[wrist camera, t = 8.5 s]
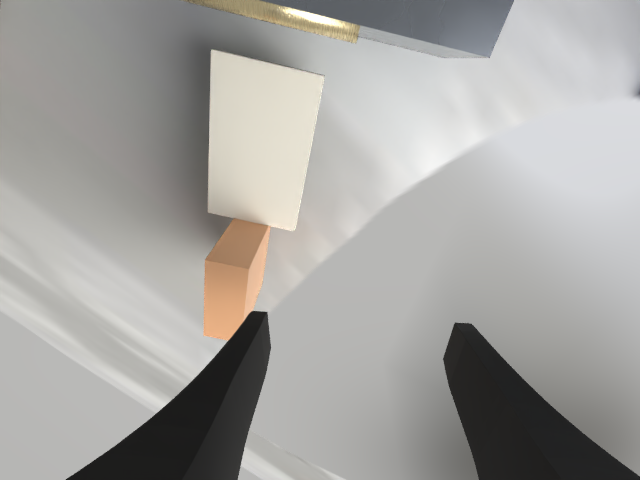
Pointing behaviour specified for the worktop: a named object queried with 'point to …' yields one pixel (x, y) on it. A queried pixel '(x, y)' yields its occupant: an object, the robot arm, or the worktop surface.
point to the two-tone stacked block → (253, 174)
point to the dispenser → (387, 21)
